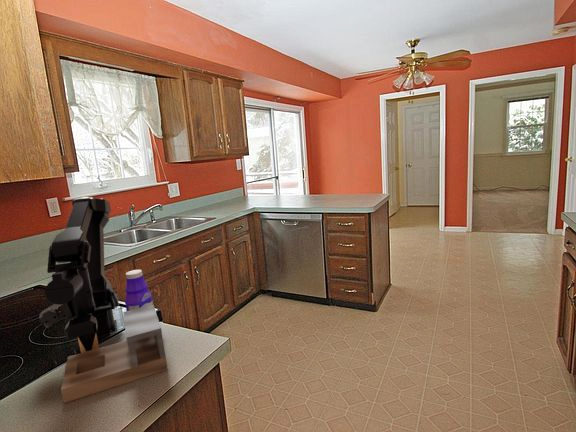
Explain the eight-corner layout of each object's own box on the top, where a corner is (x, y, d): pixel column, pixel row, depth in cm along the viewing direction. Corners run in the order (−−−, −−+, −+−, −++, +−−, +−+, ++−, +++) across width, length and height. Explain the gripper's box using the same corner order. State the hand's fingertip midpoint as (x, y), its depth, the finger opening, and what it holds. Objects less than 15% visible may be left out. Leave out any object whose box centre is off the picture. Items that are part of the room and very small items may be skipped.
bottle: (145, 338, 95) (135, 276, 92) (126, 338, 96) (115, 276, 93) (160, 325, 102) (151, 267, 99) (142, 325, 103) (133, 267, 100)
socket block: (70, 367, 84) (62, 327, 83) (159, 341, 93) (153, 304, 91) (63, 404, 71) (53, 357, 69) (167, 370, 80) (161, 328, 78)
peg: (82, 352, 91) (76, 322, 90) (99, 347, 93) (94, 318, 91) (81, 359, 88) (74, 329, 86) (99, 354, 89) (93, 324, 88)
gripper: (44, 285, 92) (56, 341, 95) (30, 310, 75) (45, 377, 78) (93, 275, 97) (103, 328, 100) (90, 297, 80) (102, 361, 83)
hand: (89, 347), depth 90 cm, fingers closed on peg, 4 cm apart
